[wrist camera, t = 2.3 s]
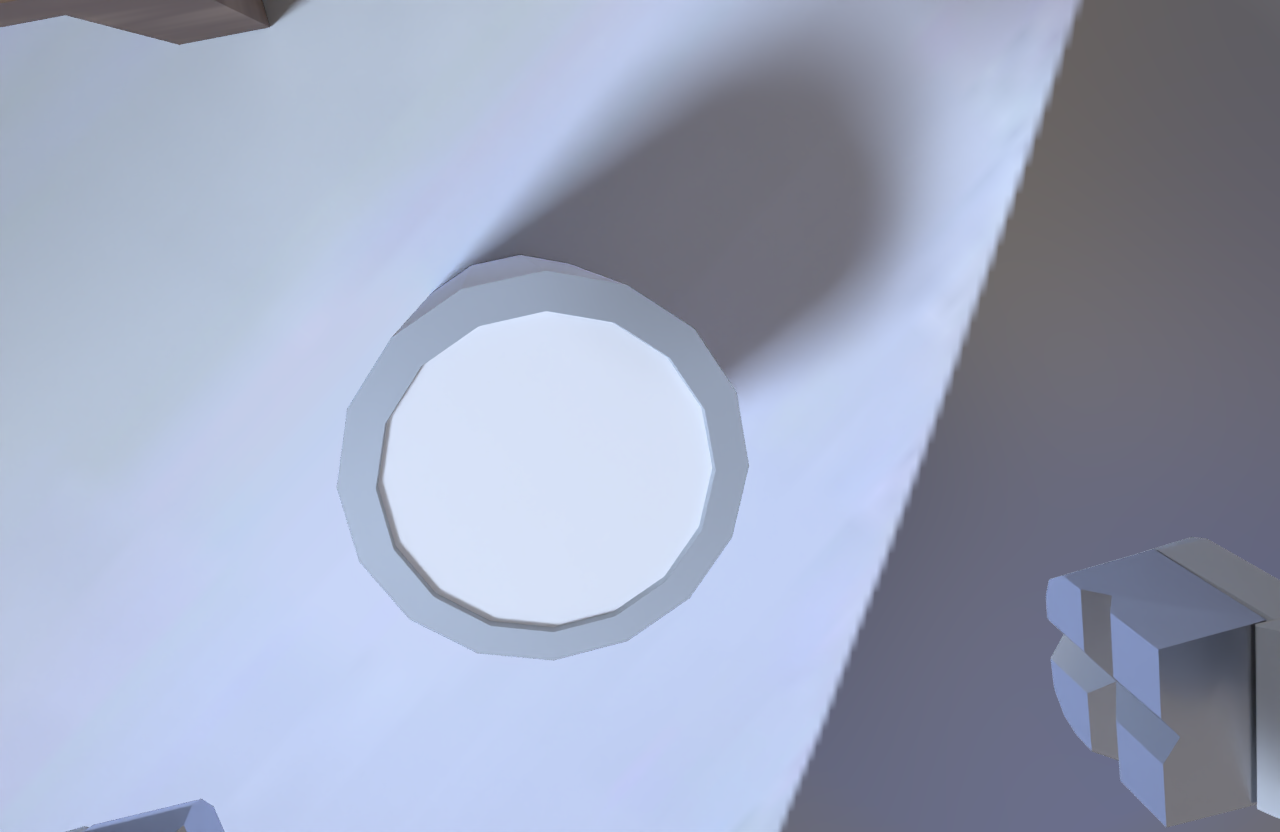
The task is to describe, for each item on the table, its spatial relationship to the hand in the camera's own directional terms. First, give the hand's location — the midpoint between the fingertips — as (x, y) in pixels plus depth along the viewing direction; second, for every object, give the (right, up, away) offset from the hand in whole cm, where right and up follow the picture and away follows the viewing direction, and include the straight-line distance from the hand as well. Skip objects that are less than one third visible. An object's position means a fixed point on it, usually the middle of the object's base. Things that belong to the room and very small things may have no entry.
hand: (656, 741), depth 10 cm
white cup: (-3, +4, +14) cm, 15 cm away
